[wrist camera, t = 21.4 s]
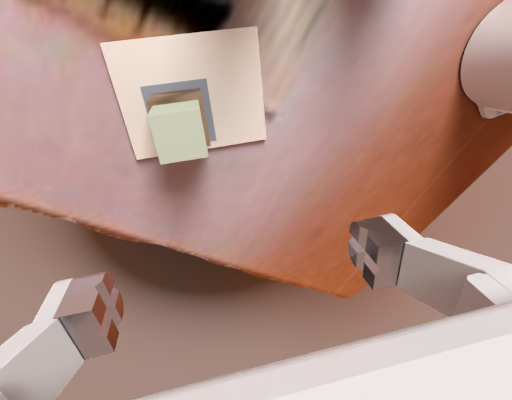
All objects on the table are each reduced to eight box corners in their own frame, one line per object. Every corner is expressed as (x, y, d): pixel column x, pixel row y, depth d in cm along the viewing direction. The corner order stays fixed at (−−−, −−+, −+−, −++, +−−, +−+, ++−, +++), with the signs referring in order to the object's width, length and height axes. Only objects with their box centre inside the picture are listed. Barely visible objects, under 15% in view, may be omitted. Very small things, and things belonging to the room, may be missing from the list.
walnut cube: (199, 87, 37) (201, 94, 33) (208, 134, 40) (210, 145, 36) (151, 94, 37) (146, 101, 32) (163, 141, 40) (160, 154, 35)
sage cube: (198, 99, 33) (199, 108, 29) (206, 142, 36) (208, 157, 31) (152, 105, 33) (147, 116, 28) (163, 149, 35) (160, 164, 31)
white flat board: (256, 26, 36) (257, 25, 35) (265, 137, 43) (266, 139, 42) (101, 42, 34) (99, 43, 33) (137, 157, 41) (136, 160, 40)
